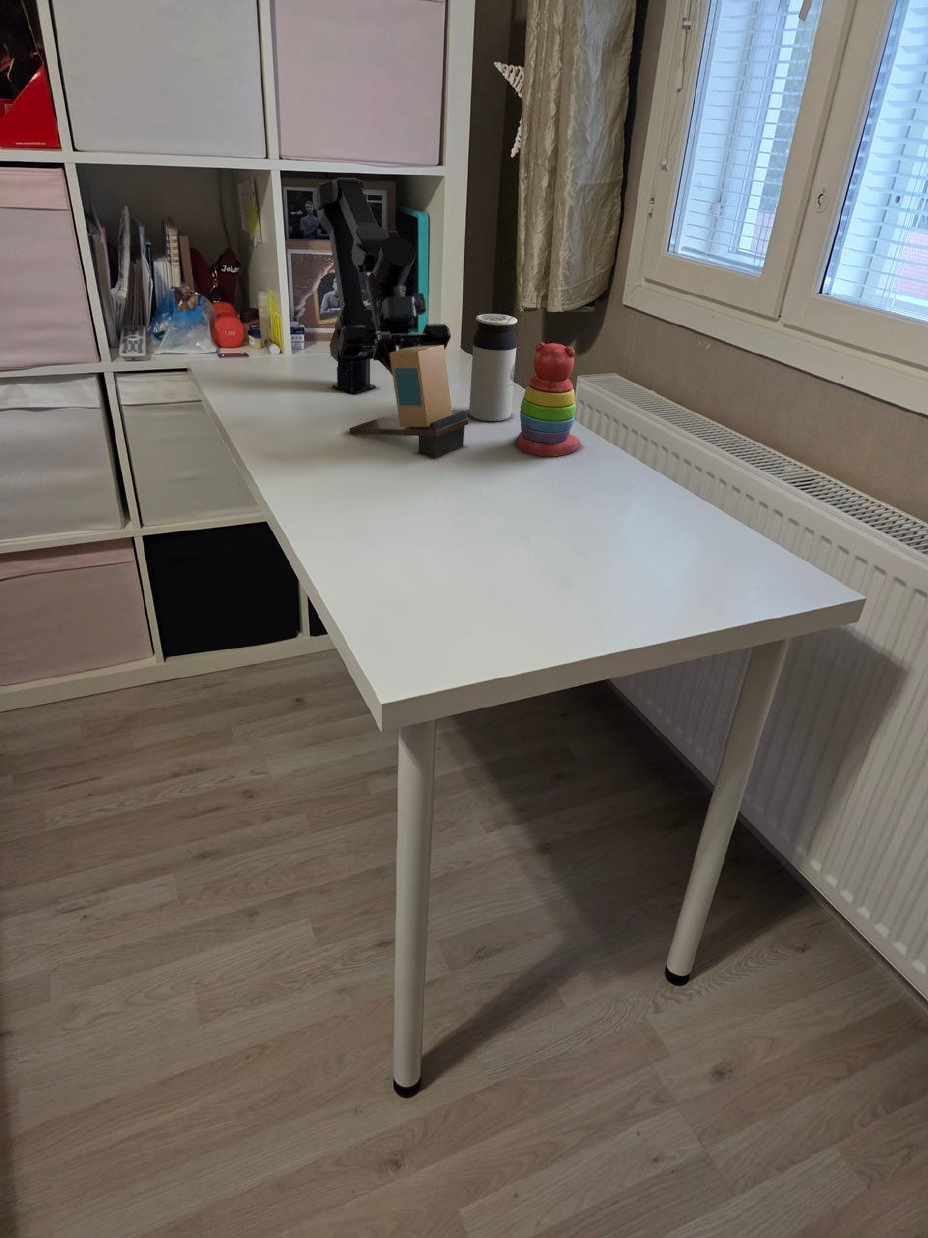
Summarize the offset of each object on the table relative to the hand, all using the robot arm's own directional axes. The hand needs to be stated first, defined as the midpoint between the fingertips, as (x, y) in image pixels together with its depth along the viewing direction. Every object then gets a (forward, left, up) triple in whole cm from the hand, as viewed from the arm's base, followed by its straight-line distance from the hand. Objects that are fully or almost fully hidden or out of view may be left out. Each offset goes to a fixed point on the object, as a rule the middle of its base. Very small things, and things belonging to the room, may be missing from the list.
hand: (403, 384), depth 143 cm
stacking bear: (-14, +21, -10) cm, 27 cm away
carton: (0, +4, -6) cm, 7 cm away
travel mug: (-22, +4, -10) cm, 24 cm away
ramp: (0, +1, -9) cm, 9 cm away
